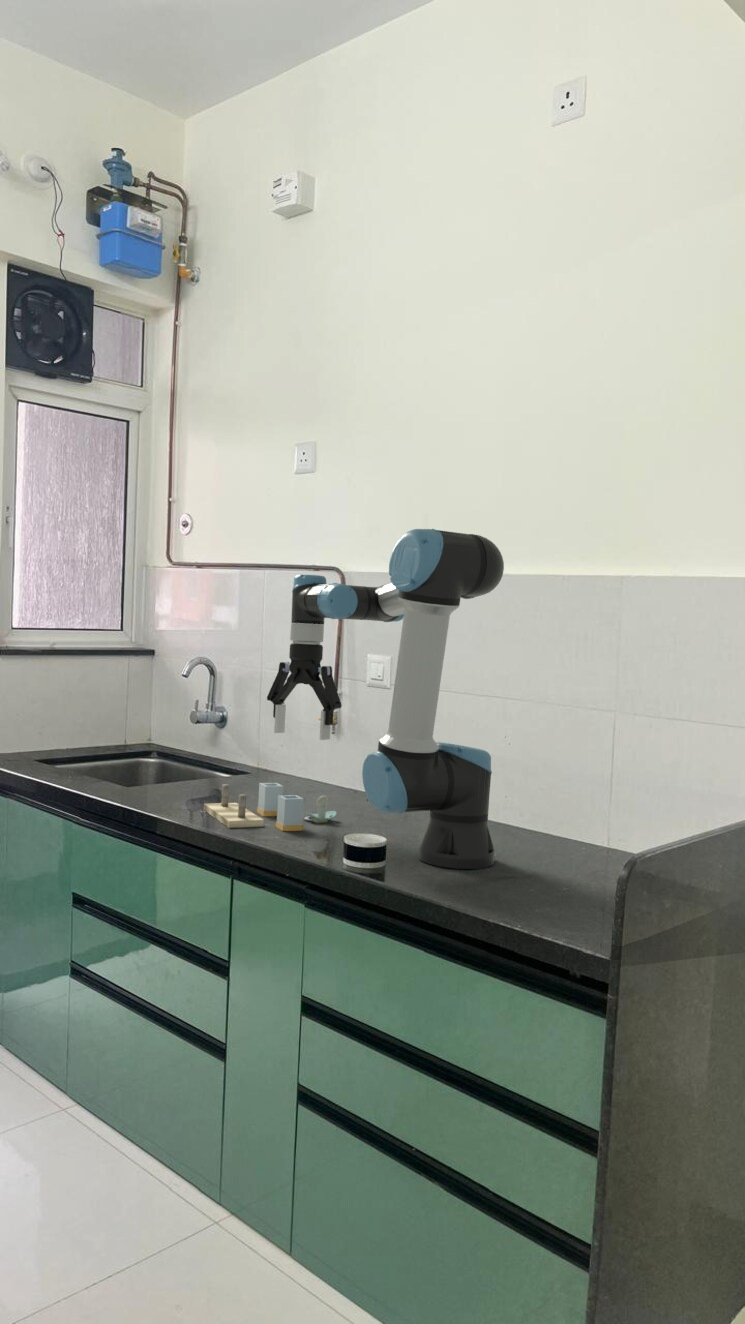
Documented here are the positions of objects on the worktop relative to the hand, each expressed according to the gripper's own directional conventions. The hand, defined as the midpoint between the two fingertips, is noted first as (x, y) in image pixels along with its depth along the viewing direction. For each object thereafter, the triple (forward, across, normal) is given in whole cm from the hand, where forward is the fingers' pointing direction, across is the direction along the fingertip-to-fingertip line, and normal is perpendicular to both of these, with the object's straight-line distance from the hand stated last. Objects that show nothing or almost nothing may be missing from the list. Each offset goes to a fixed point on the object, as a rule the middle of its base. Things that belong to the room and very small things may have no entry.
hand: (301, 736), depth 230 cm
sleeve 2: (+20, -4, +7) cm, 21 cm away
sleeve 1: (+20, +10, -2) cm, 22 cm away
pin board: (+20, +12, +9) cm, 25 cm away
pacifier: (+20, -2, -5) cm, 21 cm away
